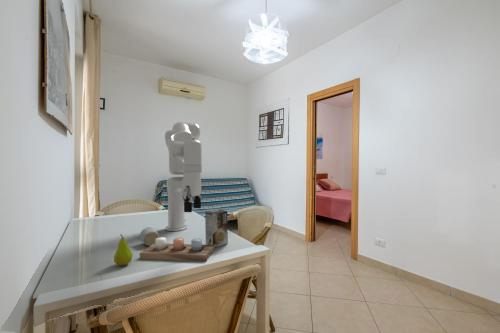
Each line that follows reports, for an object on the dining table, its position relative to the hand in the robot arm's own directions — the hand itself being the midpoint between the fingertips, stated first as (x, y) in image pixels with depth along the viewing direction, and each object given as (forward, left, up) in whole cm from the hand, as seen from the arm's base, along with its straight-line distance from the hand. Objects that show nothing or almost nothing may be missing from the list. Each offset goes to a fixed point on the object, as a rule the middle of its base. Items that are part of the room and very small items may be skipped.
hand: (192, 209), depth 97 cm
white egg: (-1, -15, -17) cm, 22 cm away
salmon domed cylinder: (-1, -7, -17) cm, 18 cm away
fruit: (+11, -24, -20) cm, 33 cm away
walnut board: (-1, -7, -19) cm, 20 cm away
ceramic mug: (-13, -25, -20) cm, 34 cm away
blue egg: (-1, +1, -17) cm, 17 cm away
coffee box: (-15, +6, -20) cm, 25 cm away
